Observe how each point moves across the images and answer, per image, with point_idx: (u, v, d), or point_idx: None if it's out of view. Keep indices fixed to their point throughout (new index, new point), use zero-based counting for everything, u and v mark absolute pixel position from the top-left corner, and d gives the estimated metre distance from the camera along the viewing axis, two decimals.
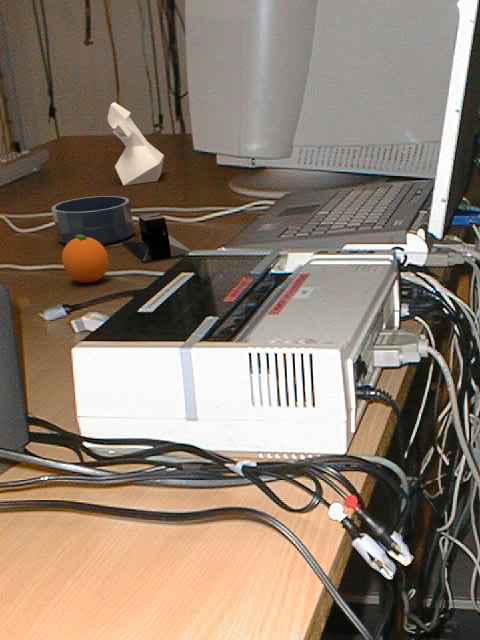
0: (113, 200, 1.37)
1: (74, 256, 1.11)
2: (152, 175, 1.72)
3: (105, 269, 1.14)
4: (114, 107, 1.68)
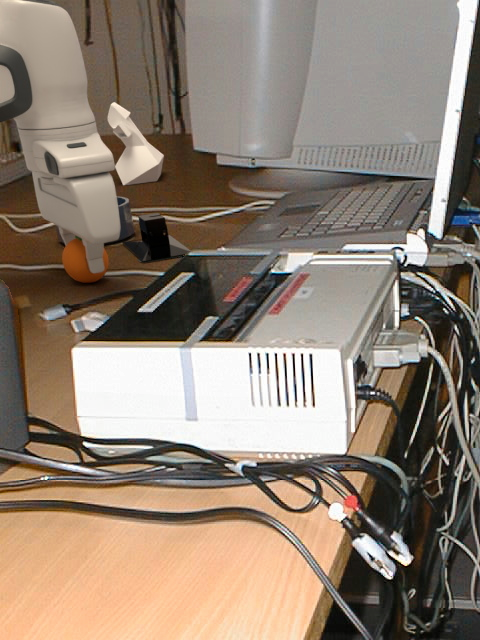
0: None
1: (74, 256, 1.11)
2: (152, 175, 1.72)
3: (105, 269, 1.14)
4: (114, 107, 1.68)
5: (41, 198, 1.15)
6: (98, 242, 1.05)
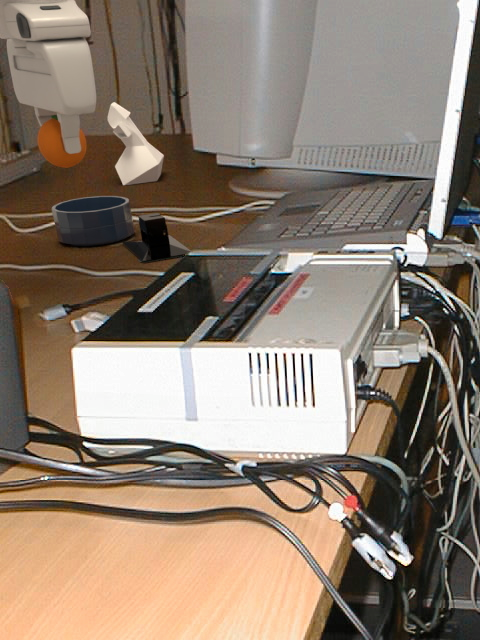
0: (113, 200, 1.37)
1: (50, 135, 1.06)
2: (152, 175, 1.72)
3: (82, 153, 1.09)
4: (114, 107, 1.68)
5: (16, 78, 1.10)
6: (72, 113, 0.99)
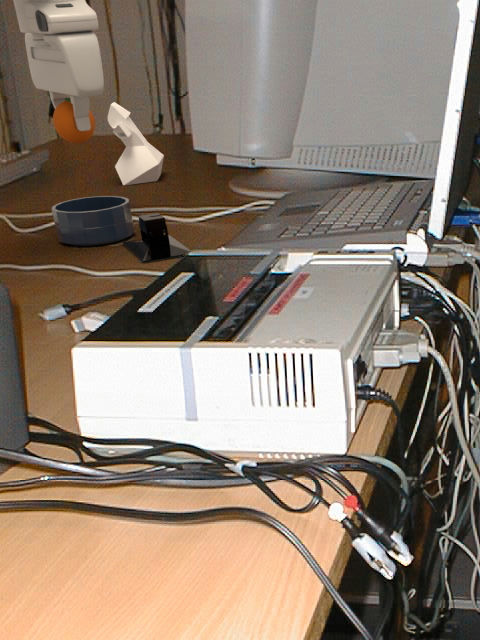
0: (113, 200, 1.37)
1: (64, 115, 1.24)
2: (152, 175, 1.72)
3: (92, 130, 1.26)
4: (114, 107, 1.68)
5: (34, 67, 1.27)
6: (84, 95, 1.17)
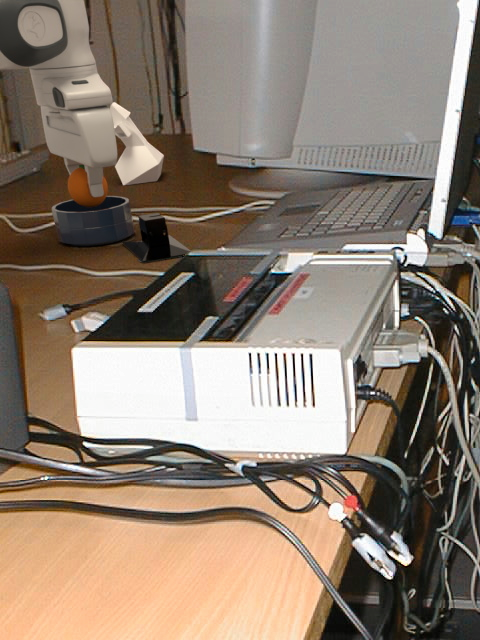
0: (113, 200, 1.37)
1: (78, 182, 1.29)
2: (152, 175, 1.72)
3: (105, 195, 1.32)
4: (114, 107, 1.68)
5: (49, 134, 1.33)
6: (98, 166, 1.22)
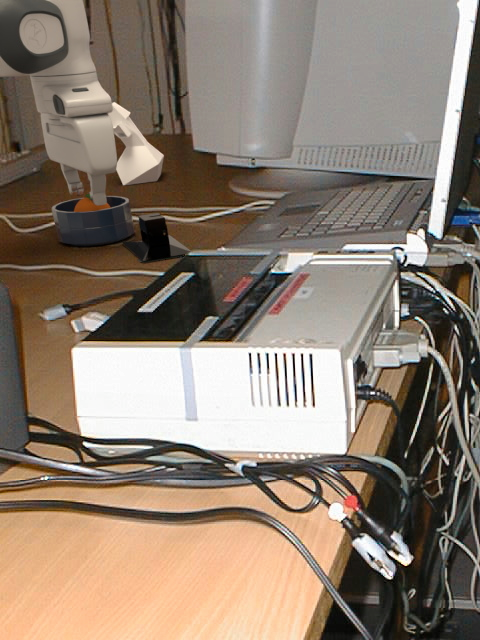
0: (113, 200, 1.37)
1: None
2: (152, 175, 1.72)
3: None
4: (114, 107, 1.68)
5: (48, 141, 1.33)
6: (98, 173, 1.23)
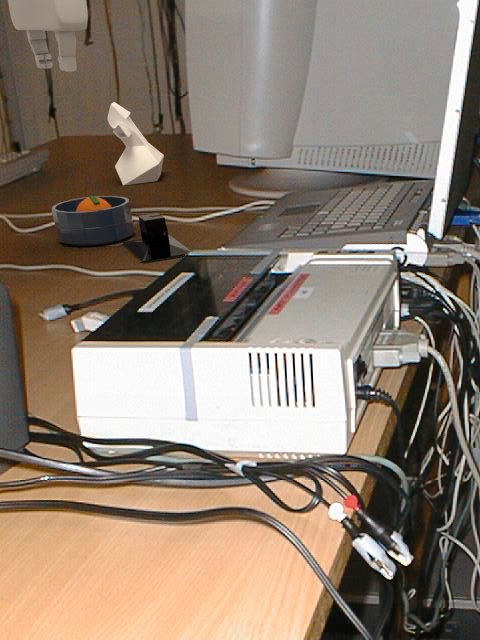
0: (113, 200, 1.37)
1: None
2: (152, 175, 1.72)
3: None
4: (114, 107, 1.68)
5: (13, 5, 1.19)
6: (66, 28, 1.09)
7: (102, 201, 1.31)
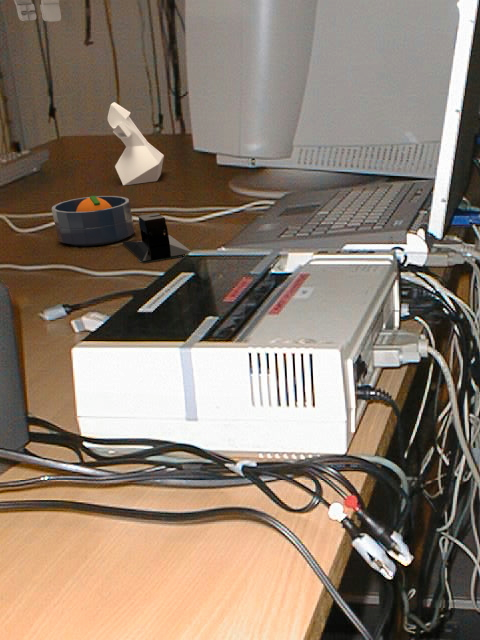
0: (113, 200, 1.37)
1: None
2: (152, 175, 1.72)
3: None
4: (114, 107, 1.68)
5: None
6: None
7: (102, 201, 1.31)
